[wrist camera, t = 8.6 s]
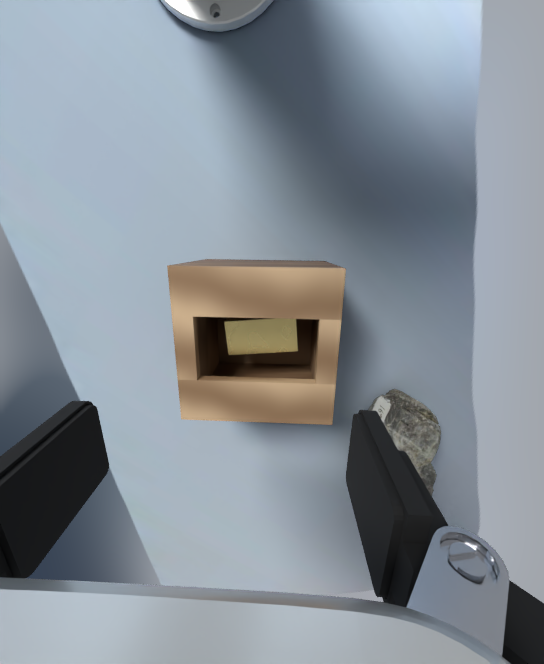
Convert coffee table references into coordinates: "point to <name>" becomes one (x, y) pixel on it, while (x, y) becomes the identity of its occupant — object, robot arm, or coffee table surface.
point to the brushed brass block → (260, 335)
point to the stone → (411, 430)
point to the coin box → (263, 368)
